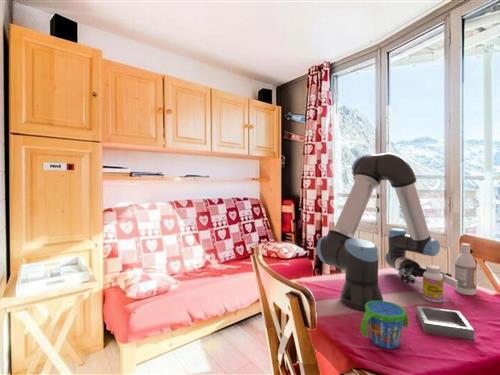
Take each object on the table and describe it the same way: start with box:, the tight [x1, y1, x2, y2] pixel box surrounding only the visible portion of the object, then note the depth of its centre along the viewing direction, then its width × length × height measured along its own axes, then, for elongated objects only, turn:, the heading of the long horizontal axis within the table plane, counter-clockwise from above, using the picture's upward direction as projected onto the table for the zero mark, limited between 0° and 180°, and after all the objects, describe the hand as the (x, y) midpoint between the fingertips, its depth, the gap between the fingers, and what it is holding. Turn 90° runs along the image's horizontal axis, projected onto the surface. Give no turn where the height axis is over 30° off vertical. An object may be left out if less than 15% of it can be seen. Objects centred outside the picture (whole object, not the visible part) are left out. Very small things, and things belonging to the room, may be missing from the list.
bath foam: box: [454, 242, 477, 296], centre depth 115 cm, size 7×7×20 cm
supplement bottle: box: [422, 264, 444, 303], centre depth 109 cm, size 7×7×13 cm
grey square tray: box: [416, 305, 475, 341], centre depth 89 cm, size 12×12×3 cm
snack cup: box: [359, 300, 409, 350], centre depth 81 cm, size 16×10×10 cm
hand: (438, 284), depth 105 cm, fingers open, 13 cm apart
